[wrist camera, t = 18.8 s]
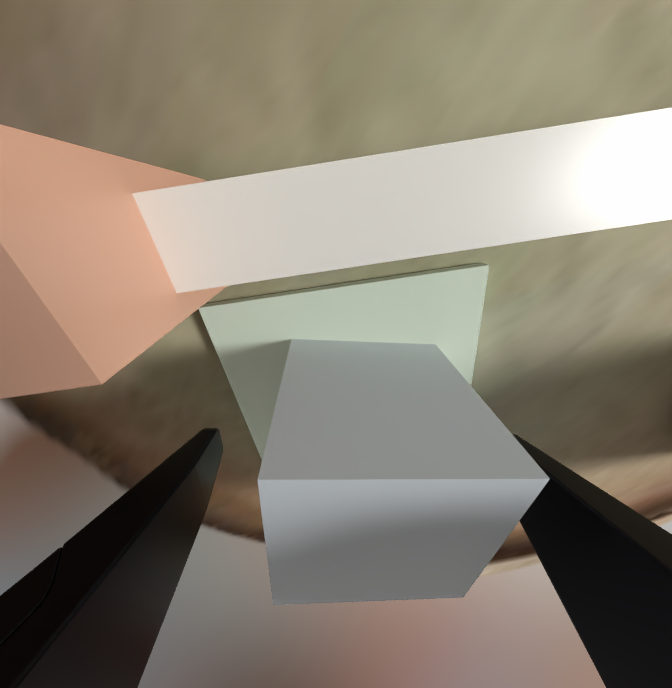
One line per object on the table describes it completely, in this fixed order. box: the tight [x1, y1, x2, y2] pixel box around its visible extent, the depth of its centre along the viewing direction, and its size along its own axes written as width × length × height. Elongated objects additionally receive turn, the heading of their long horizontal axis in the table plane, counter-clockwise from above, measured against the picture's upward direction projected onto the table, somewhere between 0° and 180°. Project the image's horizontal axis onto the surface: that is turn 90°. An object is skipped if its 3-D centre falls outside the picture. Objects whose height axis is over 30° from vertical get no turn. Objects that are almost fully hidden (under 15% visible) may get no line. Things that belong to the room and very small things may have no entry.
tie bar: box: [0, 108, 672, 399], centre depth 4 cm, size 2×20×5 cm, turn 98°
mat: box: [199, 263, 489, 459], centre depth 10 cm, size 9×9×1 cm
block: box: [258, 339, 550, 605], centre depth 8 cm, size 5×5×5 cm
